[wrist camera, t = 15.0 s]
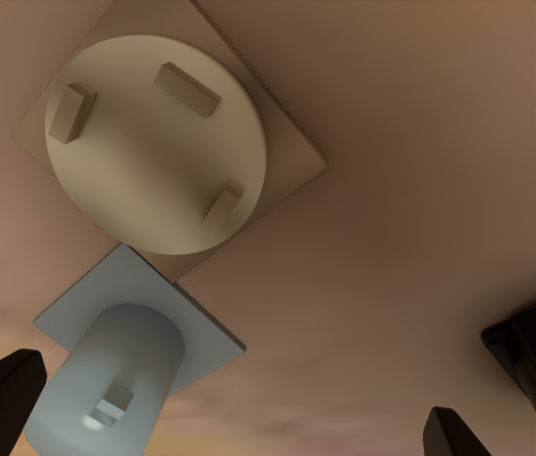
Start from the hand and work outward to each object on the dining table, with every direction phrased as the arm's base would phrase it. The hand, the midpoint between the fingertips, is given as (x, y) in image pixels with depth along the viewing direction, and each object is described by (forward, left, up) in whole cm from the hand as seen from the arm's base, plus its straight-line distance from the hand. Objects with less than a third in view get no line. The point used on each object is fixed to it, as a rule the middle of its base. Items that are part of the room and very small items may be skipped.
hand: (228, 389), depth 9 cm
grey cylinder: (-3, +15, -12) cm, 20 cm away
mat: (-2, +14, -12) cm, 19 cm away
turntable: (+5, +3, -11) cm, 13 cm away
